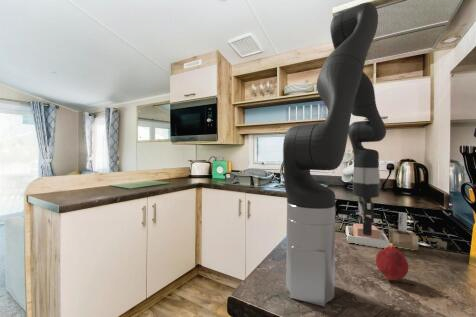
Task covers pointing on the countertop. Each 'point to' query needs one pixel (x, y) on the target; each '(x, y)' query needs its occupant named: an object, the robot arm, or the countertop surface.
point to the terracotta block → (359, 231)
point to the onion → (392, 263)
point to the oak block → (403, 239)
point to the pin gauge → (402, 223)
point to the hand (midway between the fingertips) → (365, 231)
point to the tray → (367, 239)
